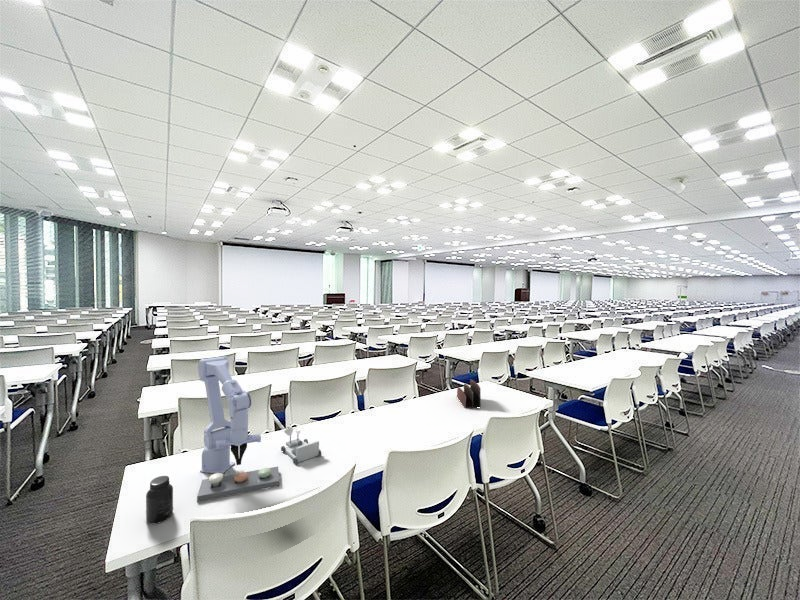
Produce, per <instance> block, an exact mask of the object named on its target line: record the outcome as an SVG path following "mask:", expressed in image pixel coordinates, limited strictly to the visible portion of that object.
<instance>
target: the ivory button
mask: <svg viewBox="0 0 800 600" xmlns="http://www.w3.org/2000/svg"><path fill="white" fill-rule="evenodd" d="M223 476H224V473H223V474H222V473H212V474H211V475H210V476H209V477H208V479H209V483H212V484H213V487H217V486H219V482H220V481H222V480H223Z"/></svg>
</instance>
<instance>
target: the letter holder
mask: <svg viewBox="0 0 800 600" xmlns="http://www.w3.org/2000/svg"><path fill="white" fill-rule="evenodd" d="M469 383H470V384H469V385H468V384H467V383H463V388H461V387H459V386H457V389H456V398H457V397H458V399H459V400H460V401H459V400H458V399H457V400H458V401H459V403H460V402H461V403H462V404H461V403H460V404H461V405H462V407H463V406H464V407H463V408H464V409H465V408H477V407H481V406H482V405H481V401H482V400H481V399H482V398H481V386H480V385H479V384H478V383H477V382H476V381H475V380H473V379H472V378H471V379H469Z"/></svg>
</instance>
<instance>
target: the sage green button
mask: <svg viewBox="0 0 800 600" xmlns="http://www.w3.org/2000/svg"><path fill="white" fill-rule="evenodd" d="M270 468H271V467H263V468H261V469H258V470H259V472H258V476H259V477H260V478H262V479H263V478H267V477H268V476H270V475H271V469H270Z"/></svg>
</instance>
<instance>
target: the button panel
mask: <svg viewBox="0 0 800 600" xmlns="http://www.w3.org/2000/svg"><path fill="white" fill-rule="evenodd" d="M269 468H270V469H271V475H270V476H268V477H267V478H263V479H262V478H260V477H259V476H258V472H259V470H260V469H254V470H250V471H245V472H246V473H247V474H248V478H247V479H246V480H245V481H244V482H242V483H238V482H235V481H234V476H235V475H236V474H237V473H233V474H227V475H223V480H222V481H220V482H219V486H217V487H213V484H212V483H209V478H204V479H202V480H201V483H200V486H199V489H198V493H197V496H196V502H197V501H200V502H205V501H209V500H214V499H220V498H225V497H230V496H235V495H241V494H244V493H245V494H246V493H250V492H251V493H252V492H255V491H260V490H261V491H262V490H266V489H271V488H275V487H276V488H277V487H279V486H280V471H279V466H274V467H269Z"/></svg>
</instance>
